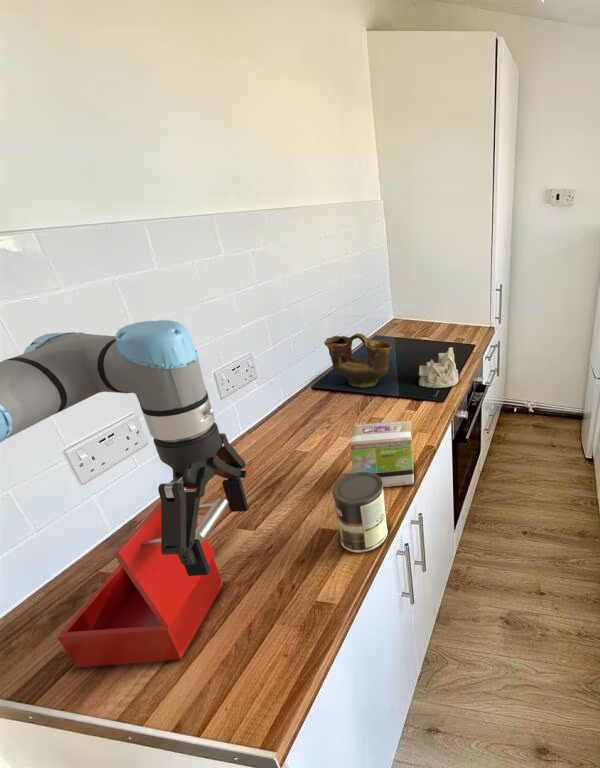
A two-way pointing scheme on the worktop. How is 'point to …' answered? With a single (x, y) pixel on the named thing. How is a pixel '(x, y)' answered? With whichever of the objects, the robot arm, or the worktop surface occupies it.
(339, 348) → the pottery vessel
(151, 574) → the lid
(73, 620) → the box
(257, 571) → the worktop surface
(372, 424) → the tea box
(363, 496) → the coffee can
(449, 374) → the ceramic cottage
